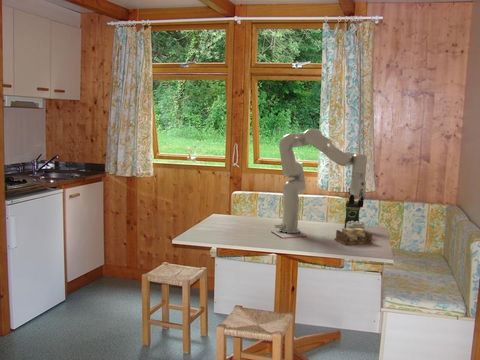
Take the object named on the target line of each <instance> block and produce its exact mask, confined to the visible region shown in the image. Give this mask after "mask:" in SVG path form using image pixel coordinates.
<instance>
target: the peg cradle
mask: <svg viewBox="0 0 480 360" xmlns="http://www.w3.org/2000/svg"><path fill="white" fill-rule="evenodd" d="M335 234H336V235H335V238H334V241H335V242H337V243H340V244H341V245H344V246H357V245H359V246H360V245H361V246H362V245H374V244H373V241H372V239H373V233H372V232H370V231H367V230H365V237H357V238H350V237H347V234H346V233H343V232H342V230H339V229H337V230H336V233H335Z"/></svg>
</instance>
